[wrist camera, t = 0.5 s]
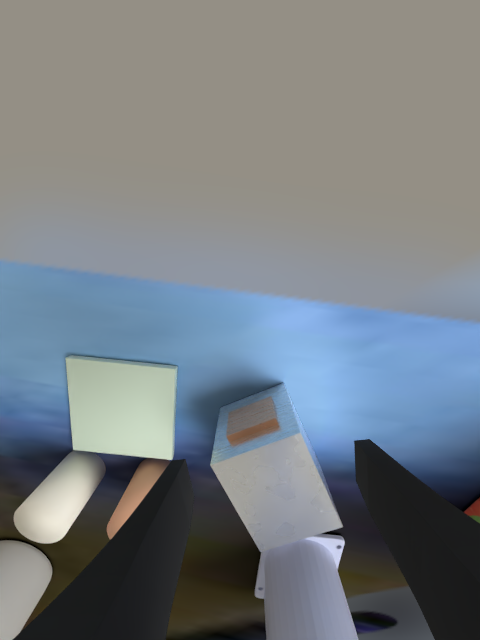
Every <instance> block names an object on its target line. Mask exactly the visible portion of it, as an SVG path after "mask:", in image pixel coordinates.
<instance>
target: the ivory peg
mask: <svg viewBox="0 0 480 640" xmlns="http://www.w3.org/2000/svg"><path fill="white" fill-rule="evenodd" d="M105 472H106V467H105V464H104V462H103V460H102V459H101V458H100V457H99V456H98V455H97V454H95V453H94V452H88V451H78V450H75V451H72V452H70V453H69V454H68V455H67V456H66V457H65V458H64V459H63V460H62V461H61V462H60V464H59V465H58V466H57V467H56V468H55V469H54V470H53V471H52V472H51V473H50V474H49V475H48V476H47V478H46V479H45V480H44V481H43V482H42V483H41V484H40V485H39V486H38V487H37V488H36V489H35V490H34V492H33V493H32V494H31V495H30V496H29V497H28V498H27V499H26V500H25V501H24V502H23V503H22V504H21V506H20V507H19V508H18V509H17V510H16V511H15V514H14V524H15V526H16V528H17V529H18V531H19V532H20V533H21V534H22V535H23V536H25V537H26V538H28V539H30V540H32V541H35V542H38V543H54V542H57V541H59V540H61V539H62V538H63V537H64V536H65V534H66V533H67V531H68V530H69V528H70V527H71V525H72V524H73V522H74V521H75V519H76V518H77V516H78V515H79V513H80V512H81V510H82V509H83V507H84V506H85V504H86V503H87V501H88V500H89V498H90V497H91V495H92V494H93V492H94V491H95V489H96V488H97V486H98V485H99V483H100V482H101V480H102V479H103V477H104V475H105Z"/></svg>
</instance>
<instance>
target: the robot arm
mask: <svg viewBox="0 0 480 640" xmlns="http://www.w3.org/2000/svg"><path fill="white" fill-rule="evenodd" d="M354 443H355V467H356V482H357V484H358V487H359V489H360V491H361V494H362V496H363V499H364V501H365V503H366V506H367V508H368V510H369V512H370V514H371V516H372V518H373V520H374V521H375V523H376V525H377V527H378V529H379V531H380V533H381V535H382V536H383V538H384V540H385V542H386V544H387V546H388V548H389V549H390V551H391V553H392V555H393V557H394V559H395V561H396V562H397V564H398V566H399V568H400V570H401V572H402V573H403V575H404V577H405V579H406V581H407V583H408V585H409V586H410V588H411V590H412V592H413V594H414V596H415V598H416V600H417V602H418V604H419V606H420V608H421V610H422V612H423V615H424V617H425V619H426V621H427V623H428V626H429V628H430V630H431V632H432V634H433V636H434V639H435V640H480V523H478V522H477V521H475V520H474V519H473V518H471V517H470V516H468V515H467V514H465V513H464V512H462V511H461V510H460V509H458V508H457V507H455V506H454V505H453V504H451V503H450V502H448V501H447V500H446V499H444V498H443V497H441V496H440V495H439V494H437V493H436V492H435V491H433V490H432V489H431V488H429V487H428V486H427V485H426V484H424V483H423V482H422V481H420V480H419V479H418V478H417V477H415V476H414V475H413V474H411V473H410V472H409V471H408V470H406V469H405V468H404V467H403V466H401V465H400V464H399V463H398V462H397V461H395V460H394V459H393V458H392V457H390V456H389V455H388V454H387V453H386V452H384V451H383V450H382V449H381V448H380V447H378V446H377V445H376V444H375V443H373V442H372V441H371V440H370V439H367V440H358V441H354ZM193 504H194V493H193V489H192V485H191V481H190V476H189V472H188V468H187V464H186V460H185V459H182V460H173V461H171V462H170V463H169V465H168V466H167V467H166V469H165V470H164V471H163V473H162V474H161V476H160V477H159V478H158V480H157V481H156V482H155V484H154V485H153V487H152V488H151V489H150V491H149V492H148V493H147V495H146V496H145V497H144V499H143V500H142V501H141V502H140V504H139V505H138V506H137V508H136V509H135V510H134V512H133V513H132V514H131V515H130V517H129V518H128V519H127V520H126V522H125V523H124V524H123V525H122V526H121V528H120V529H119V530H118V531H117V533H116V534H115V535H114V536H113V537H112V539H111V540H110V541H109V542H108V543H107V545H106V546H105V547H104V548H103V549H102V550H101V551H100V553H99V554H98V555H97V556H96V557H95V558H94V559H93V560H92V561H91V562H90V564H89V565H88V566H87V567H86V568H85V569H84V570H83V571H82V572H81V573H80V574H79V575H78V576H77V577H76V579H75V580H74V581H73V582H72V583H71V584H70V585H69V586H68V587H67V588H66V589H65V590H64V591H63V592H62V593H61V594H60V595H59V596H58V597H57V598H56V599H55V600H54V601H53V602H52V603H51V604H50V605H49V606H48V607H47V608H46V609H45V610H44V611H43V612H41V613H40V614H39V615H38V616H37V617H36V618H35V619H34V620H33V621H32V622H31V623H30V624H29V625H28V626H27V627H26V628H25V629H23V630H22V631H21V632H20V633H19V634H18V635H17V636H16V637H15V638H14V639H13V640H165V639H166V633H167V627H168V622H169V617H170V612H171V607H172V603H173V599H174V594H175V590H176V586H177V582H178V577H179V573H180V569H181V565H182V561H183V556H184V552H185V548H186V544H187V539H188V535H189V530H190V526H191V519H192V512H193ZM344 544H345V541H344V539H343V537H342V536H339V535H329V534H318V535H315V536H312V537H308V538H305V539H302V540H298V541H295V542H292V543H289V544H285V545H282V546H279V547H275V548H272V549H269V550H266V551H262V552H261V556H260V562H259V568H258V574H257V580H256V586H255V596H256V597H257V598H262V599H264V605H265V622H266V640H358V637H357V634H356V630H355V627H354V624H353V620H352V617H351V614H350V611H349V607H348V604H347V601H346V597H345V594H344V590H343V587H342V584H341V581H340V577H339V574H338V571H337V569H338V565H339V562H340V558H341V555H342V551H343V548H344Z"/></svg>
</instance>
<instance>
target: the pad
mask: <svg viewBox="0 0 480 640" xmlns="http://www.w3.org/2000/svg"><path fill="white" fill-rule="evenodd" d="M177 367H178V366H172V365H162V364H153V363H143V362H133V361H123V360H114V359H104V358H94V357H84V356H75V355H70V356H68V357H66V369H67V381H68V393H69V405H70V417H71V430H72V442H73V450H78V451H88V452H98V453H108V454H118V455H128V456H138V457H148V458H158V459H168V460H172V459H173V456H174V441H175V416H176V392H177Z"/></svg>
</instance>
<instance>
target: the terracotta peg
mask: <svg viewBox="0 0 480 640" xmlns="http://www.w3.org/2000/svg"><path fill="white" fill-rule="evenodd" d="M169 463H170V461H169V460H167V459H158V458H147V459H145V460H143V461H142V462H141V463H140V464H139V466H138V468H137V470H136V472H135V473H134V475H133V477H132V479H131V481H130V483H129V485H128V487H127V489H126V491H125V492H124V494H123V496H122V498H121V500H120V502H119V504H118V506H117V508H116V510H115V511H114V513H113V515H112V517H111V519H110V521H109V523H108V525H107V534H108V537H109V538H110V540H111V539H112V537H113V536H114V535H115V534H116V533H117V531H118V530H119V529H120V528H121V526H122V525H123V524H124V523H125V522H126V520H127V519H128V518H129V517H130V515H131V514H132V513H133V512H134V510H135V509H136V508H137V506H138V505H139V504H140V502H141V501H142V500H143V499H144V497H145V496H146V495H147V493H148V492H149V491H150V489H151V488H152V487H153V485H154V484H155V482H156V481H157V480H158V478H159V477H160V476H161V474H162V473H163V471H164V470H165V469H166V467H167V466H168V465H169Z"/></svg>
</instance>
